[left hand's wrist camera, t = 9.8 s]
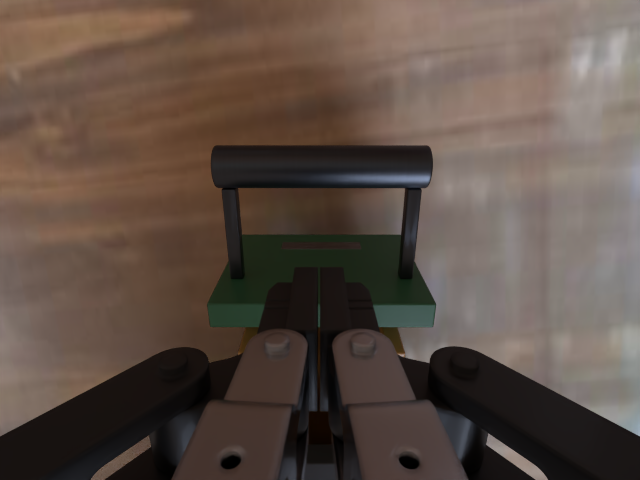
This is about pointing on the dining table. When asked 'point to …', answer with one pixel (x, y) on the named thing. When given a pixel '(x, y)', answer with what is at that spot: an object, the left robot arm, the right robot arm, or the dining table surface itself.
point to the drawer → (322, 238)
